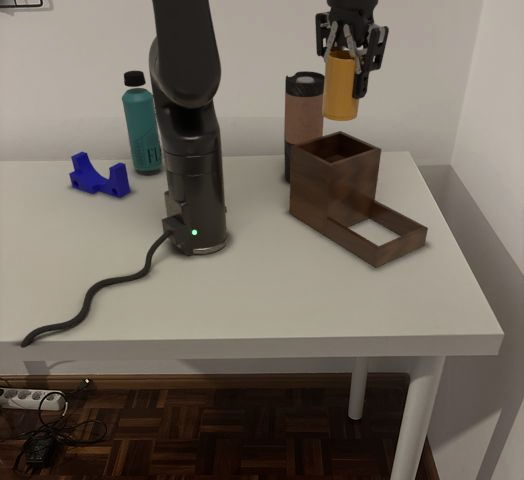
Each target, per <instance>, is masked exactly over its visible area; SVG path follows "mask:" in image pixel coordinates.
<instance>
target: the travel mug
mask: <svg viewBox="0 0 524 480" xmlns="http://www.w3.org/2000/svg"><path fill="white" fill-rule="evenodd" d="M324 80H325V74H322V73H320V72H316V71H308V70H307V71H303V70H302V71H297V72H295V73H294V75H292V76H288V75H286V76H285V82H284V83H285V85H284V86H285V87H284V130H283V131H284V132H283V137H284V139H283V144H284V145H283V150H284V151H283V152H284V153H283V154H284V179H285V182H286V183H288V184H289V185H290V161H291V146H292V145H296V144H299V143H302V142H306V141H309V140H312V139H315V138H319V137H322V136H324V118H325V117H324V116H323V115H322V104H323V92H324Z"/></svg>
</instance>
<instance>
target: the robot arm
mask: <svg viewBox="0 0 524 480" xmlns="http://www.w3.org/2000/svg"><path fill="white" fill-rule="evenodd" d="M151 3H152V9H153V16H154V25H155V35H156V36H155V37H154V38H153V40H152V42H151V44H150V48H149V52H148V71H149V72H148V73H149V79H150V85H151V93H152V95H153V101H154V107H155V113H156V120H157V127H158V132H159V136H160V139H161V148H162V154H163V161H164V167H165V176H166V183H167V190H165V191H164V193H163V196H164V204H165V210H166V211H165V212H166V217H164V218H162V219H161V226H162V234H161V235H160V236H159V237H158V238H157V239H156V240H155V241H154V242H153V243H152V245H151V246H150V247H149V249H148V251H147V252H146V255H145V261H144V266H143V267H142V269H141V270H139V271H138V272H136V273H134V274H130V275H125V276H116V277H109V278H104V279H101V280H99V281H96V282H94V284H93V285H91V286H90V287H89V288H88V290H87V291H86V293H85V296H84V299H83V303H82V307H81V309H80V311H79V312H78V313H77V314H76V315H75V316H74V317H73V318H71V319H70V320H67V321H64V322H59V323H52V324H51V323H50V324H46V325H42V326H39V327H37V328H35V329H32V331H30V332H29V333H28V334H27V335H26V336H25V337H24V338H23V340H22V342H21V343H20V348H22V349H24V348H27V347H28V346H29V345H30V343H32V341H33V340H34V339H35V338H36V337H38V336H40V335H43V334H45V333H50V332H56V331H62V330H65V329H69V328H71V327H74V326H76V325H77V324H79V323H80V322H81V321H83V319H85V317H86V315H87V314H88V312H89V309H90V306H91V302H92V297H93V296H94V294H95V293H96V292H97V291H98V290H100V289H101V288H103V287H105V286H108V285H114V284H115V285H116V284H122V283H127V282H132V281H136V280H139V279H141V278H142V277H144V276H145V275H146V274H147V273H148V272H149V271H150V269H151V267H152V260H153V257H154V254H155V253H156V251H157V249H159V247H160V246H161V245H162V244H163V243H164V242H166V240H167V239H168V240H169V241H170V242H171V244H173V245H174V246H175V247H176V248H177V249H178V250H180V252H181V253H182V254H184V255H185V256H187V257H190V256H192V255H207V254H211V253H214V252H218V251H219V250H222V249H223V248H224V247H225V246H226V245H227V244H228V241H229V236H228V227H227V214H228V210H227V209H228V207H227V206H226V197H225V180H224V164H223V149H222V134H221V126H220V123H219V119H218V117H217V113H216V108H215V103H214V97H215V96H216V94H217V93H218V90H219V88H220V85H221V80H222V62H221V56H220V52H219V47H218V44H217V38H216V33H215V28H214V22H213V17H212V11H211V6H210V5H211V4H210V0H151ZM378 4H379V0H326V5H327V6H328V7H330V8H329V9H330V10H329V11H323V12H318V13H317V12H316V14H315V15H314V18H315V19H314V21H315V22H314V23H315V44H316V45H315V46H316V47H315V49H316V55H317V57H321V58H323V63H324V65H325V69H326V57H327V53H328V52H330V51H331V52H334V51H336V50H349V54H350V57H351V58H352V59H354V60H355V65H354V67H355V72H356V73H355V74H354V81H353V91H352V98H354V99H359V100H361V99H363V98H365V96H366V95H367V93H368V87H369V85H368V84H369V78H370V77H369V76H370V73H371V72H373V71H379V70H380V69H381V68H382V65H383V64H382V63H383V60H384V55H385V51H386V45H387V41H388V38H389V33H390V29H389V27H388V26H387V25H385V26H380V25H378V24H376V23H375V17H374V11H375V8H376V7H377V6H378ZM324 40H325V46H324ZM360 48H361V49H360ZM361 56H362V57H363V62H364V64H362V62H361ZM325 69H324V70H325Z"/></svg>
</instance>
